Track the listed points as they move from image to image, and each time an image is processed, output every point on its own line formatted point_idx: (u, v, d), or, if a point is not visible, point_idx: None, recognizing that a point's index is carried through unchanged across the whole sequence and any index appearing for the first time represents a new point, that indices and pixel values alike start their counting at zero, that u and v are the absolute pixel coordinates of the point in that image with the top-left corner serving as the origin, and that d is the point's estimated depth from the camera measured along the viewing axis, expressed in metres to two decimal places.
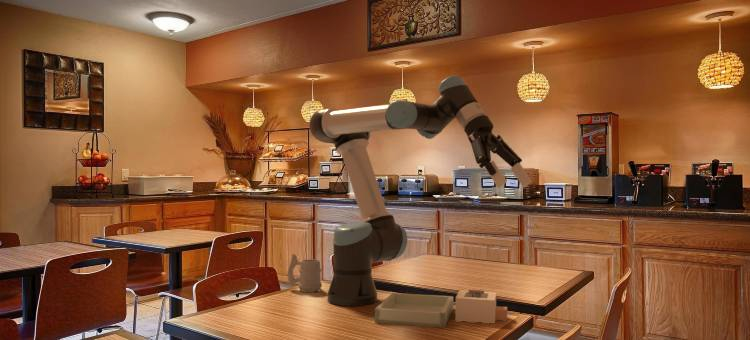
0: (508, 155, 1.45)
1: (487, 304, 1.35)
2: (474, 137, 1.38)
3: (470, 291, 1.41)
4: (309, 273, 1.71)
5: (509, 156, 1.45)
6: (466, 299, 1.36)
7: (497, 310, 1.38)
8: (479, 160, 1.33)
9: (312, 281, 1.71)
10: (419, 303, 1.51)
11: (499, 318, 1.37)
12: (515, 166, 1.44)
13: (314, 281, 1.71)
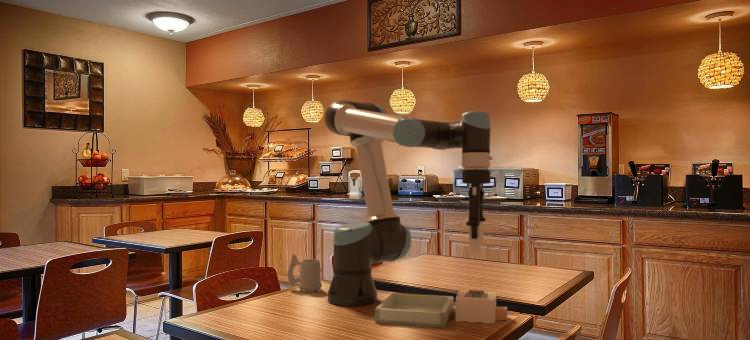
0: (480, 212, 1.46)
1: (487, 304, 1.35)
2: (476, 192, 1.34)
3: (470, 291, 1.41)
4: (309, 273, 1.71)
5: (480, 213, 1.46)
6: (466, 299, 1.36)
7: (497, 310, 1.38)
8: (472, 222, 1.31)
9: (312, 281, 1.71)
10: (419, 303, 1.51)
11: (499, 318, 1.37)
12: (478, 223, 1.47)
13: (314, 281, 1.71)
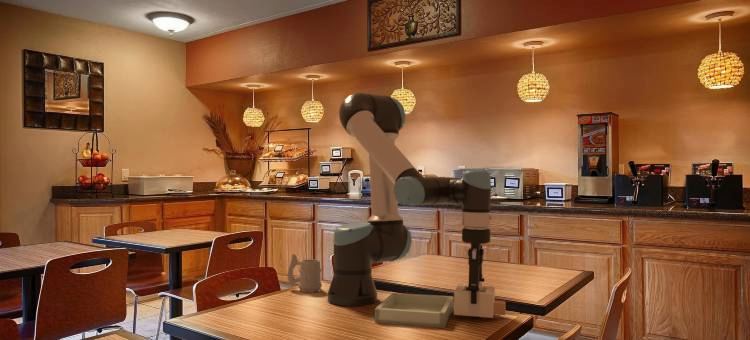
0: (479, 271, 1.45)
1: (486, 298, 1.35)
2: (475, 257, 1.34)
3: None
4: (309, 273, 1.71)
5: (479, 272, 1.45)
6: (465, 293, 1.37)
7: (495, 304, 1.38)
8: (472, 288, 1.33)
9: (312, 281, 1.71)
10: (419, 303, 1.51)
11: (497, 312, 1.38)
12: None
13: (314, 281, 1.71)
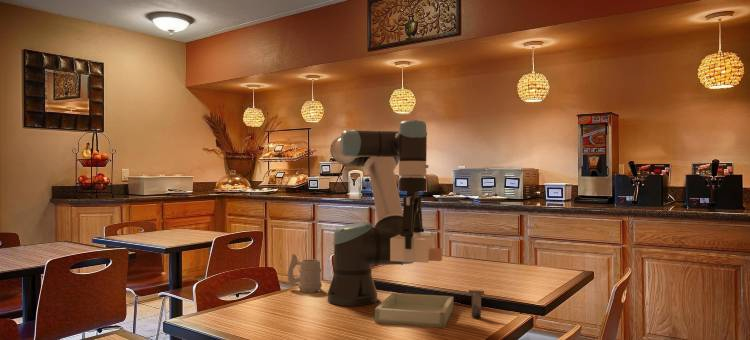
0: (418, 221, 1.47)
1: (420, 243, 1.38)
2: (409, 203, 1.37)
3: (470, 291, 1.41)
4: (309, 273, 1.71)
5: (418, 222, 1.47)
6: (400, 239, 1.39)
7: (431, 251, 1.40)
8: (405, 233, 1.35)
9: (312, 281, 1.71)
10: (419, 303, 1.51)
11: (433, 258, 1.40)
12: (416, 234, 1.48)
13: (314, 281, 1.71)
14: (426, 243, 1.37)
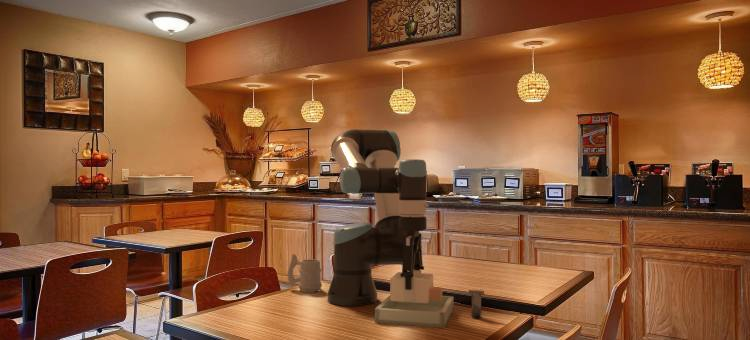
0: (418, 259, 1.47)
1: (420, 284, 1.37)
2: (409, 243, 1.37)
3: (470, 291, 1.41)
4: (309, 273, 1.71)
5: (418, 260, 1.47)
6: (400, 279, 1.39)
7: (431, 290, 1.40)
8: (405, 274, 1.35)
9: (312, 281, 1.71)
10: (419, 303, 1.51)
11: (433, 298, 1.40)
12: (416, 272, 1.48)
13: (314, 281, 1.71)
14: (426, 283, 1.37)
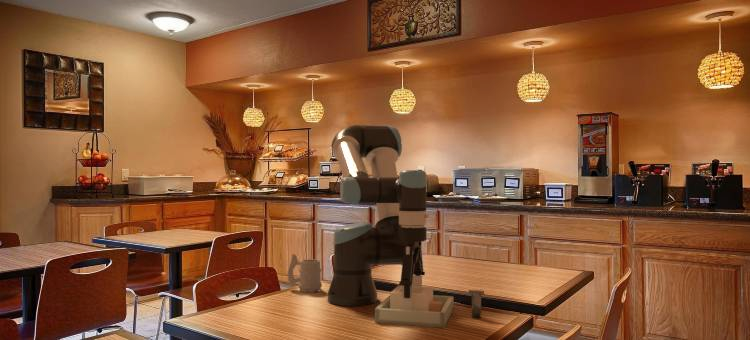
0: (418, 266, 1.48)
1: (420, 298, 1.37)
2: (409, 252, 1.36)
3: (470, 291, 1.41)
4: (309, 273, 1.71)
5: (418, 267, 1.48)
6: (400, 294, 1.39)
7: (431, 304, 1.40)
8: (404, 282, 1.33)
9: (312, 281, 1.71)
10: None
11: None
12: (417, 277, 1.49)
13: (314, 281, 1.71)
14: (426, 298, 1.37)
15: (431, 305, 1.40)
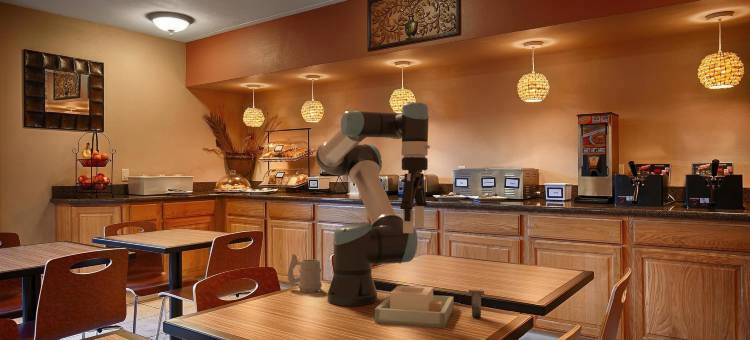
0: (420, 197, 1.56)
1: (420, 298, 1.37)
2: (410, 178, 1.44)
3: (470, 291, 1.41)
4: (309, 273, 1.71)
5: (420, 198, 1.56)
6: (400, 294, 1.39)
7: (431, 304, 1.40)
8: (404, 205, 1.42)
9: (312, 281, 1.71)
10: None
11: None
12: (419, 207, 1.57)
13: (314, 281, 1.71)
14: (426, 298, 1.37)
15: (431, 305, 1.40)
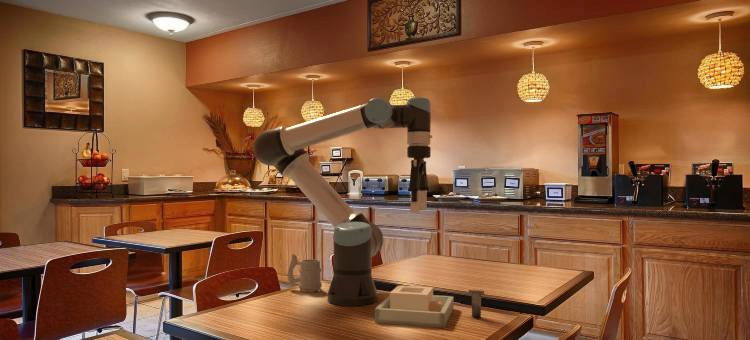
0: (423, 182, 1.74)
1: (420, 298, 1.37)
2: (416, 164, 1.63)
3: (470, 291, 1.41)
4: (309, 273, 1.71)
5: (423, 183, 1.74)
6: (400, 294, 1.39)
7: (431, 304, 1.40)
8: (412, 187, 1.60)
9: (312, 281, 1.71)
10: None
11: None
12: (422, 192, 1.76)
13: (314, 281, 1.71)
14: (426, 298, 1.37)
15: (431, 305, 1.40)
